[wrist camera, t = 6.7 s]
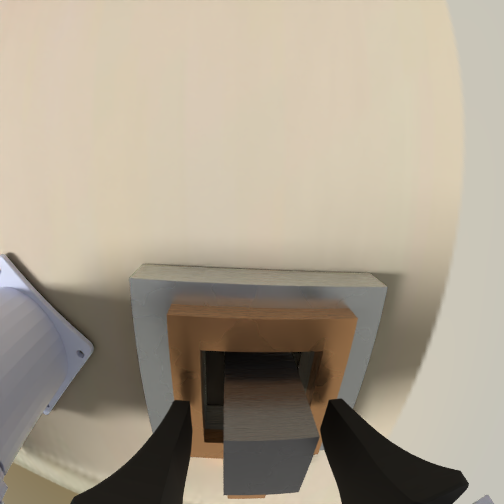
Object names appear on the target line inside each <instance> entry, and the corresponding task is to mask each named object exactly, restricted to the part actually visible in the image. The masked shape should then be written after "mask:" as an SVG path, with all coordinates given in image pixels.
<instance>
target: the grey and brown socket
mask: <svg viewBox="0 0 504 504" xmlns="http://www.w3.org/2000/svg"><path fill="white" fill-rule="evenodd" d="M129 280H130V293H131V304H132V314H133V324H134V332H135V340H136V347H137V354H138V361H139V367H140V373H141V379H142V384H143V390H144V395H145V400H146V405H147V410H148V414H149V419H150V423H151V427H152V432H153V433H154V432H155V430H156V429H157V427H158V426H159V425H160V423H161V422H162V420H163V419H164V417H165V415H166V414H167V412H168V410H169V408H170V407H171V405H172V403H173V401H174V400H184V401H190V409H191V420H192V430H193V433H192V447H191V455H190V457H203V458H223V426H224V406H215V405H207V392H206V351H228V352H301V357H300V363H299V369H298V373H299V376H300V379H301V382H302V385H303V388H304V391H305V394H306V397H307V400H308V403H309V406H310V409H311V412H312V415H313V418H314V421H315V424H316V427H317V430H318V433H319V436H320V438H319V441H318V443H317V446H316V449H315V452H314V454H318V452H319V450H324V447H323V443H322V438H321V433H320V427H321V424H322V421H323V418H324V415H325V411H326V408H327V405H328V401H329V400H330V399H340V398H342V399H343V400H344V401H345V402H346V403H347V404H348V405H349V406H350V407H351V408H352V409H353V407H354V405H355V402H356V399H357V396H358V393H359V391H360V388H361V385H362V382H363V379H364V375H365V372H366V369H367V366H368V363H369V359H370V356H371V352H372V349H373V345H374V342H375V338H376V334H377V331H378V327H379V323H380V319H381V315H382V310H383V306H384V302H385V297H386V293H387V288H388V287H387V286H386V285H385V284H383V283H382V282H381V281H379V280H378V279H377V278H375V277H374V276H373V275H371V274H370V273H349V272H314V271H284V270H257V269H233V268H211V267H190V266H171V265H152V264H142V265H141V266H140V267H139V268H138V269H137V271H136V272H135V273H134V274H133V275H132V276H131V277H130V278H129ZM314 454H313V455H314ZM228 498H229V499H247V498H265V495H228Z"/></svg>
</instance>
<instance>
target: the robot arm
mask: <svg viewBox="0 0 504 504" xmlns="http://www.w3.org/2000/svg"><path fill="white" fill-rule="evenodd" d="M0 268H1V270H0V504H4V502H3V501H2V499H3V497H4V495H5V492H6V490H7V488H8V487H7V485H6V484H5V483H4V481H3V478H4V475H6V473H7V471H8V469H9V468H10V466H11V464H12V462H13V460H14V459H15V457H16V455H17V453H18V452H19V450H20V448H21V447H22V445H23V443H24V442H25V440H26V438H27V437H28V435H29V433H30V432H31V430H32V429H33V427H34V425H35V424H36V422H37V421H38V419H39V417H40V416H41V414H42V413H44V414H47V415H48V414H49V413H50V412H51V410H52V409H53V407H54V406H55V404H56V403H57V401H58V400H59V398H60V397H61V396H62V394H63V393H64V391H65V390H66V388H67V387H68V386H69V384H70V383H71V381H72V380H73V379H74V377H75V376H76V374H77V373H78V372H79V370H80V369H81V368H82V366H83V365H84V364H85V362H86V361H87V360H88V358H89V357H90V356H91V354H92V353H93V351H94V347H93V344H92V343H91V342H90V341H89V340H88V339H87V338H86V337H84V336H83V335H82V334H81V333H80V332H79V331H78V330H77V329H76V328H74V327H73V326H72V325H71V324H70V323H69V322H68V321H67V320H66V319H65V318H64V317H63V316H62V315H61V314H59V313H58V312H57V311H56V310H55V309H54V308H53V307H52V306H51V305H50V304H49V303H48V302H47V301H46V300H45V299H44V298H43V297H42V295H41V294H40V293H39V292H38V291H37V290H36V289H35V288H34V287H33V286H32V285H31V284H30V283H29V282H28V280H27V279H26V278H25V277H24V276H23V275H22V274H21V273H20V271H19V270H18V269H17V268H16V267H15V266H14V264H13V263H12V262H11V261H10V260H9V258H8V257H7V256H6V255H5V254H1V255H0ZM80 351H82V352H83V353H84V354H82V353H81V352H80ZM192 433H193V430H192V420H191V409H190V401H184V400H174V401H173V403H172V405H171V407H170V408H169V410H168V412H167V414H166V415H165V417H164V419H163V420H162V422H161V423H160V425H159V426H158V427H157V429H156V430H155V432H154V433H153V434H152V436H151V437H150V438H149V439H148V441H147V442H146V443H145V444H144V445H143V447H142V448H141V449H140V450H139V451H138V452H137V453H136V454H135V455H134V456H133V457H132V458H131V459H130V460H129V461H128V462H127V463H126V464H125V465H123V466H122V467H121V468H120V469H119V470H118V471H116V472H115V473H114V474H112V475H111V476H110V477H108V478H107V479H105V480H104V481H102V482H101V483H99V484H98V485H96V486H94V487H93V488H91V489H89V490H87V491H85V492H83V493H81V494H79V495H77V496H75V497H74V498H73V500H72V502H71V504H182V503H183V493H184V487H185V481H186V476H187V471H188V466H189V460H190V455H191V447H192ZM320 433H321V438H322V443H323V447H324V450H325V453H326V456H327V459H328V461H329V464H330V467H331V469H332V472H333V475H334V477H335V480H336V483H337V486H338V489H339V493H340V497H341V501H342V504H453V503H454V502H455V501H456V500H457V499H458V498H459V497H460V496H461V495H462V494H463V493H464V492H465V490H466V489H467V488H468V485H469V483H468V482H467V480H466V478H465V477H464V476H463V474H462V473H461V471H458V470H454V469H450V468H446V467H442V466H439V465H436V464H433V463H430V462H428V461H425V460H423V459H421V458H419V457H416V456H414V455H412V454H410V453H409V452H407V451H405V450H403V449H402V448H400V447H398V446H397V445H395V444H394V443H392V442H390V441H389V440H388V439H386V438H385V437H384V436H383V435H381V434H380V433H379V432H377V431H376V430H375V429H374V428H373V427H371V426H370V425H369V424H368V423H367V422H366V421H365V420H364V419H363V418H362V417H360V416H359V415H358V414H357V413H356V412H355V411H354V410H353V409H352V408H351V407H350V406H349V405H348V404H347V403H346V402H345V401H344V400H343V399H342V398H340V399H330V400H329V401H328V405H327V408H326V411H325V415H324V418H323V421H322V424H321V427H320ZM473 504H494V503H493V502H492V500H491V498H490V497H489V496H488V495H485V496H484V497H482V498H481V499H479V500H478V501H476V502H475V503H473Z"/></svg>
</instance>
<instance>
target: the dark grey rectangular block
mask: <svg viewBox="0 0 504 504" xmlns="http://www.w3.org/2000/svg"><path fill="white" fill-rule="evenodd" d="M319 438H320V436H319V433H318V430H317V427H316V424H315V421H314V418H313V415H312V412H311V409H310V406H309V403H308V400H307V397H306V394H305V391H304V388H303V385H302V382H301V379H300V376H299V373H298V370H297V367H296V364H295V361H294V358H293V355H292V352H228V351H225V361H224V426H223V477H224V495H268V494H283V493H294V492H299V490H300V487H301V485H302V482H303V480H304V478H305V475H306V473H307V470H308V468H309V465H310V462H311V460H312V457H313V454H314V452H315V449H316V446H317V443H318V441H319Z"/></svg>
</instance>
